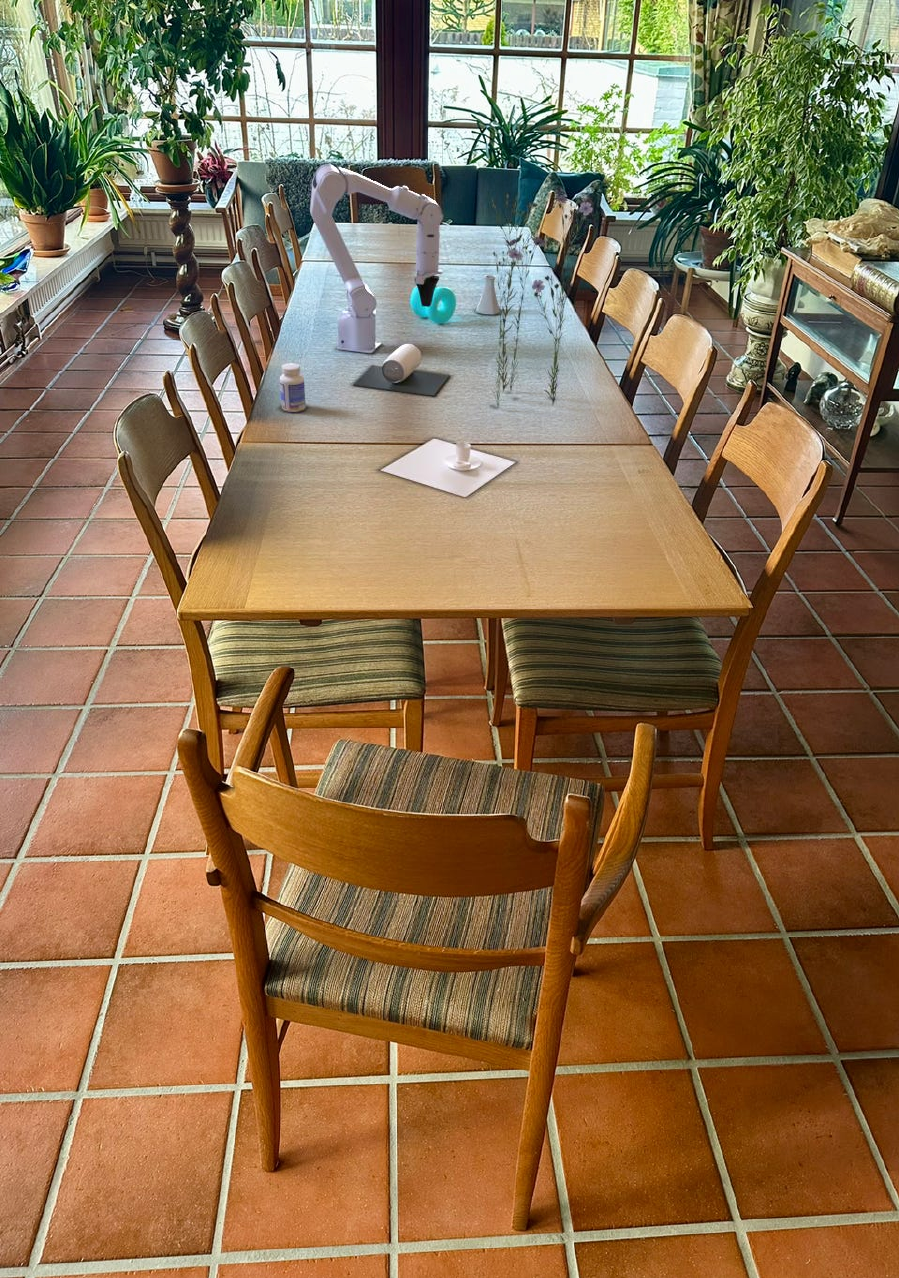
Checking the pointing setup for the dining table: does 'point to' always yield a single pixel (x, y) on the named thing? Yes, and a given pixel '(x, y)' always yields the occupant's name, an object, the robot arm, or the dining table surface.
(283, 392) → the pill bottle
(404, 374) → the can
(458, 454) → the teacup and saucer
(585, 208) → the wildflower
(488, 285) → the flask
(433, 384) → the mat
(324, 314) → the dining table surface
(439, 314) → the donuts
